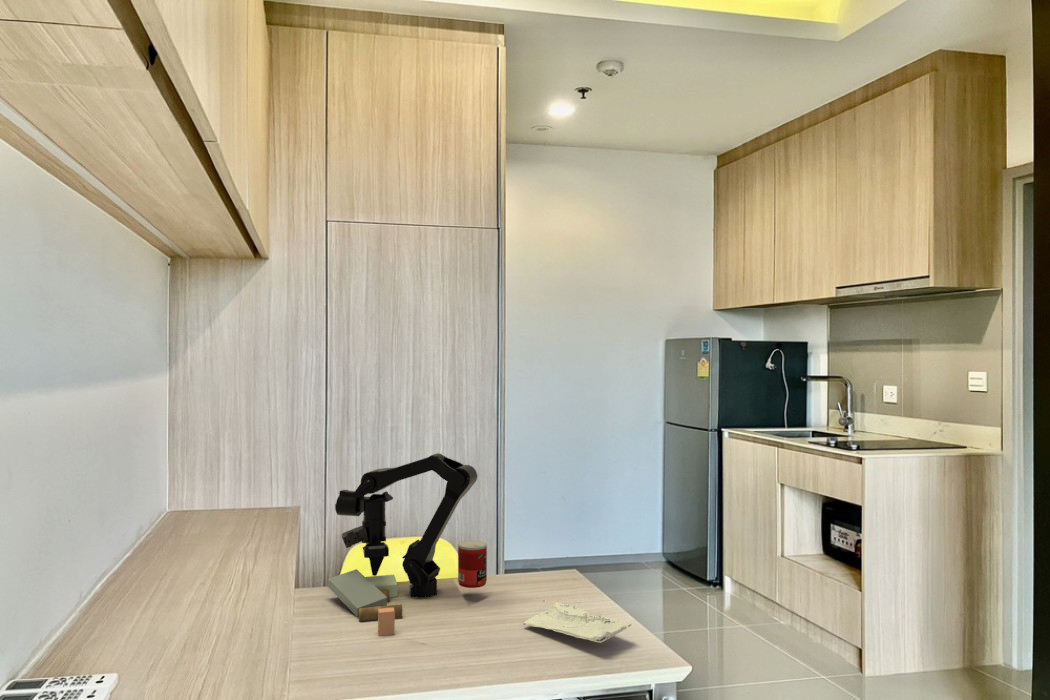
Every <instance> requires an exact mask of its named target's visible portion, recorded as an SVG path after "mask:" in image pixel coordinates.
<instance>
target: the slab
mask: <svg viewBox="0 0 1050 700" xmlns="http://www.w3.org/2000/svg"><path fill="white" fill-rule="evenodd" d="M366 577H367V576H365V575H363V573H361V572H360V571H359V570H358V569H357V568H356V569H352V570H351V571H350V570H349V571H347V572H343V573H341V574H338V575H336V576H335V575H334V576H332V577H329V578H328V579H327V583H328V584H327V587H328V588H329V590H330V591H331V592H332V593H333V594H334V595H335V596H336V597H337V598H338V599H339V601H341V602H342V603H343V604H344V605H345V606H346V607H347V608H348V609H349V610H350V611H351V612H352V613H353V614H354V616H355V617H356V618H359V608H368V607H379V606H388V602H387V597H386V596H385V595H384V594H383V593H382V592H381V591H380V590H379V589H378V588H376V587H375V586H374V585H373V584H372V583H371V582H370V581H369V580H368V579H367V578H366Z"/></svg>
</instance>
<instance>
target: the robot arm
mask: <svg viewBox="0 0 1050 700" xmlns="http://www.w3.org/2000/svg"><path fill="white" fill-rule="evenodd" d="M432 471H433V472H434V473H436V474H437V475H438V477H440V478H441V479H442V480H444V481H446V483H445V491H444V495H443V498H442V499H441V501H440V504H439V505H438V506H437V509H436V511H435V513H434V514H433V517H432V518H431V520H430V522H429V524H428V525H427V527H426V529H425V531H424V532H423V535H422V537H421V539H416V540H415V541H413V542H412V543H410V544H409V545H408V548H407V550H406V553H405V554H404V555H403V556H402V559H403V561H402V564H401V565H402V568H403V571H404V573H405V574H406V575H407V578H408V581H409V583H410V585H409V596H410V598H418V599H419V598H420V599H425V598H426V599H428V598H431V597H434V596H438V580H437V577H438V576H439V573H440V572H441V567H440V566H439V565H438V564H437V563H436V562H435V561H434V556H435V553H436V548H437V547H436V546H437V543H438V542H439V540H440V538H441V536H442V534H443V532H444V531H445V528H446V526H447V525H448V523H449V521H450V520H451V518H452V516H453V514H454V512H455V510H456V509H457V506H458V505H459V502H460V501H461V500H462V499H463V498H464V497H465V496H466V494H467V493H468V492H469V491H470V490H471V489H472V487H473V486H474V485H475V483H476V482H477V480H478V473H477V470H476V469H475V467H473V466H472V465H470V464H463V463H461V462H460V461H457V460H455V459H452V458H450V457H447V456H445V455H443V454H442V453H440V452H439V453H434V454H431V455H428V457H424V458H422V459H418V460H414V461H411V462H410V463H406V464H403V465H399V466H396V467H385V468H377V469H374V470H371V471H368V472H366V473H363V475H361V479H360V484H359V485H358V486H357V488H356V489H355V490H349V489H341V490H339V493H338V494H339V495H338V496H337V499H336V501H335V504H334V509H335V513H336V515H337V516H343V517H344V516H347V517H351V516H352V517H359V516H361V515H362V513H363V519H362V521H361V522H362V523H361V525H359V526H357V527H354V528H352V529H349V530H346V531H345V532H342V533H341V539H342V541H343V543H344V546H345V548H346V549H349V548H351V547H352V546H353V545H356V544H358V543H361V544H365V545H364V546H363V547H362V552H363V558H365V559H369V564H370V569H371V574H372V575H371V576H378V573H379V570H380V568H381V566H382V563H383V560H384V559H385V557H389V556H390V554H389V553H390V548H389V546H388V544H387V543H386V542H387V537H386V526H387V521H386V503H388V502H390V501H393V499H394V497H393V496H392V495H391V494H389V492H388V491H384V492H382V493H377V492H379V491H382V490H384V489H387V488H389V487H391V486H392V485H393V484H396V483H397V482H399V481H402V480H405V479H409V478H412V477H415V476H418V475H421V474H424V473H427V472H432ZM369 494H370V496H367V495H369Z"/></svg>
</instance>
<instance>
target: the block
mask: <svg viewBox="0 0 1050 700" xmlns="http://www.w3.org/2000/svg"><path fill="white" fill-rule="evenodd" d="M365 577H366V578H367V579H368V580H369V581H370V582H371V583H372V584H373V585H374V586H375V587H376V588H378V589H379V590H389V598H394V597H396V598H397V597H398V595H399V594H398V589H399V587H398V585H399V584H398V582H397V579H396V576H395V574H385V575H376V576H373V575H371V576H365Z"/></svg>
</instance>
